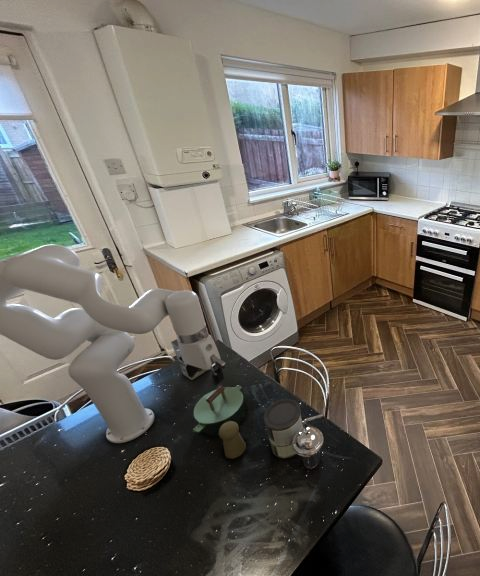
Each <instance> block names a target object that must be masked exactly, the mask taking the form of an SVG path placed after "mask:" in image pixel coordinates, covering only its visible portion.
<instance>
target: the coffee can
mask: <svg viewBox="0 0 480 576" xmlns="http://www.w3.org/2000/svg"><path fill="white" fill-rule="evenodd" d="M301 411H302V410H301V406H300V404H299V403H298V402H297V401H296V400H294V399H290V398H283V399H280V400H277V401H275V402H272V403H271V404H270V405H269V406H268V407H267V409H266V410H265V412H264V414H263V423H264V424H265V429H266V433H267V436H268V439H269V444H270V447H271V451H272V453H273V454H274V455H275V456H276V457H277V458H282V459H287V458H291V457H293V456H296V455H298V454H297V453H296V452H295V451H294V449H293V446H292V444H293V439H294V437H295V435H296V434H297V433H298V432H299V431H300V430H301V429H302V428H304V424H303V418H302V414H301Z"/></svg>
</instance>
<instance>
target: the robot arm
mask: <svg viewBox="0 0 480 576" xmlns="http://www.w3.org/2000/svg"><path fill="white" fill-rule="evenodd" d="M80 265H81V259H80V256H79V255H78V254H77V253H76V252H75V251H74V250H73V249H72V248H70V247H68V246H64V245H61V244H56V243H55V244H53V243H51V244H50V243H49V244H43V245H41V246H39V247H36V248H33V249H30V250H27V251H24V252H21V253H17V254H14V255H12V256H8V257H6V258H3V259H1V260H0V335H1V336H3V337H6V338H7V339H8V340H10V341H12V342H14V343H16V344H18V345H19V346H21V347H24V348H25V349H28V350H29V351H31V352H33V353H35V354H37V355H39V356H41V357H44V358H45V359H49V360H52V361H55V360H56V361H58V360H62V359H65V358H66V357H68V356H70V355H71V354H72V353H74V352H75V351H76V350H77V349H78V348H80V347H81V346H82V345H84V343H86V341H88V342H90V344H89V345H87V346H86V347H85V348H84V349H83V350H82V351H81V352H79V354H78V355H76V357H75V358H74V359H73V360H72V361H71V363H70V364H69V365H68V369H67V371H68V376H69V377H70V378H71V380H72V381H74V383H76V384H77V385H78V386H79V387H80V388H81V389H82V390H83V391H84V392H85V393H86V395H87V397H88V398H89V399H90V400H91V402H92V404H93V405H94V407H95V408H96V410H97V412H98V413H99V415H100V416H101V418H102V419H103V421H104V423H105V424H106V426H107V429H106V431H105V437H106V439H107V441H108V442H110V443H112V444H123V443H127V442H131V441H132V440H135V439H137V438H138V437H140V436H142V435H143V434H144V433H146V432H147V431H148V429H150V428H151V426H152V425H153V423H154V421H155V413H154V412H153V410H152V409H151V408H148V407H144V405H143V403H142V401H141V399H140V398H139V395H138V394H137V391H136V390H135V388H134V386H133V384H132V382H131V381H130V379H129V378H128V376H126V375H125V374H123V373H119V372H118V369H119V367H120V366H121V365H122V364H123V362H124V361H125V360H126V359H127V358H128V357H129V356H130V355H131V353H132V352H133V351H134V350H135V347H136V343H135V340H134V338H133V337H132V335H143V334H144V335H145V334H148V333H150V332H152V331H154V330H155V328H156V327H158V325H159V324H160V323H161V322H162V321H163V320H164V319H165V318H167V317H168V318H169V319H170V323H171V325H172V328H173V331H174V334H175V337H176V339H177V341H178V347H179V349H178V350H177V351H176V354H177V355H178V356H179V359H180V360H181V361H182V362H183V365H184V366H185V368H186V371H187V373H188V376H189V377H192V376H193V375H194V374H195V373H197V372H198V368H201V369H205V370H207V371H209V372H210V373H211V374H212V375H211V378H212V382H213V385H214V386H218V385H219V384H220V383H222V381H223V380H224V379H225V377H224V373H223V370H225V369H226V365H227V363H226V362H225V361H224V360H222V359H221V355H220V352H219V350H218V346H217V345H216V343H215V341H214V339H213V337H212V335H211V334H209V331H208V327H207V324H206V320H205V316H204V313H203V309H202V306H201V302H200V299H199V296H198V294H197V293H196V292H195V291H192V290H184V289H183V290H179V291H178V290H170V289H166V288H160V287H159V288H158V287H157V288H151V289H148V290H147V291H146V292H145V293H144V294H142V295H141V296H140V297H139V298H137V299H136V300H135V301H134V302H133V303H132V304H131V305H129V306H126V305H125V306H124V305H120V304H119V303H118V304H117V303H114V302H111V301H109V300H108V299H106V298H104V297H103V296H102V295H101V294H102V291H103V288H104V278H103V276H102V275H101V274H100V273H98V272H95V271H92V270H89V269H85V268H82V267H80ZM24 291H29V292H33V293H37V294H40V295H44V296H47V297H52V298H55V299H59V300H62V301H66V302H70V303H74V304H77V305H79V306H81V308H80V307H75V308H74V307H73V308H69V309H67V310H65V311H62V312H61V313H59V314H58V315H56V316H55V317H52V316H50V315H48V314H46V313H44V312H42V311H41V310H39V309H37V308H35V307H32V306H29V305H23V304H17V303H8V302H7V301H8V300H10V299H11V298H13V297H16V296H17V295H19V294H21V293H23V292H24ZM176 354H175V355H176ZM211 363H212V365H211ZM214 366H215V367H216V369H214V368H213V367H214Z"/></svg>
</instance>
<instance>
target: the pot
mask: <svg viewBox="0 0 480 576" xmlns="http://www.w3.org/2000/svg"><path fill="white" fill-rule="evenodd" d="M234 388H236V389H238V390H240V391H241V392H242V390H244V387H243V386H241V385H238V384H237V385H236V386H234ZM244 404H245V403H244V402H243V403H242V406H241V407H240V409H239V410H238V411H237V412H236V413H235V414H234V415H233V416H231V417H230V418H228V419H227V420H225V421H222V422H220V423H216V424H202V423H200V422H198V421H197V423H198V424H196V426H195V427H194V428H193V429H192V431H193V432H194V433H195V434H198V435H201V434H202V433H203V434H205V435H208V436H219V429H220V428H221V426H222V425H223V424H224V423H226V422H229V421H233V422H236V423H237V424H238V425H240V424H241V422H242V421H243V420H244V418H245V416H246V408H245V405H244Z"/></svg>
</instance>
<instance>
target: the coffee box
mask: <svg viewBox="0 0 480 576" xmlns="http://www.w3.org/2000/svg"><path fill="white" fill-rule="evenodd" d="M170 344H171V346H172V349H173V351H174V354H175V356H176V359H177V362H178V365H179V367H180V370H181V373H182V375H183V376H185V377H186V378H188V379H189V380H191V381H193V380H195V379H196V378H197V377H199V376H201V375H202V374H204V373H206V372H207V371H208V370H205V369H201V368H198V372H197V373H195V374H194V375H193V376H192V377H189V376H188V373H187V371H186V368H185V366H184V365H183V362H182V361H181V360H180V359H179V356H178V355H177V354H176V351H177V350H178V349H179V347H178V341H177V338H176V339H174V340H172V341H171V342H170ZM212 364H213V362H212V363H211V365H212Z"/></svg>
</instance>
